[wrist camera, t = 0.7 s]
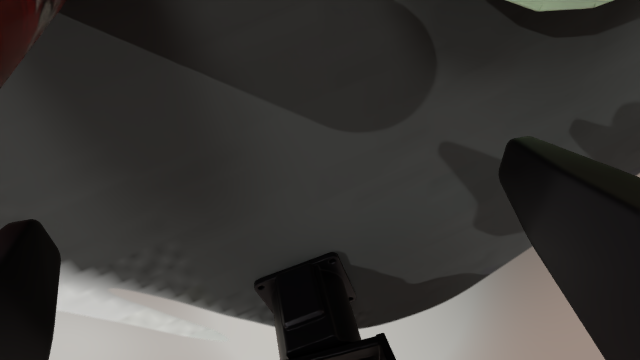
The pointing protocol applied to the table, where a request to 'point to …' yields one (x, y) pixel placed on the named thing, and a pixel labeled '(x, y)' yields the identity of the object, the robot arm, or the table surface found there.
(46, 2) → the soda can
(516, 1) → the big bowl
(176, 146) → the table surface
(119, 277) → the table surface
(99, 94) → the table surface
